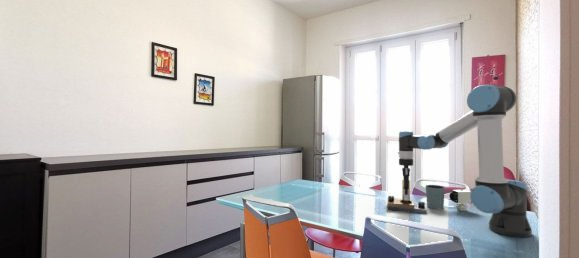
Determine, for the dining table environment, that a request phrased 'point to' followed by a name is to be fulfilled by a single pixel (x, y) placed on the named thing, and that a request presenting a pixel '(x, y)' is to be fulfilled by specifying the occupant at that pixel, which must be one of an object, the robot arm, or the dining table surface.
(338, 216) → the dining table surface
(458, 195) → the white camera
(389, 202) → the brown block with knobs
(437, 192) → the grey green open container
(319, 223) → the dining table surface
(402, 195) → the brass pin
